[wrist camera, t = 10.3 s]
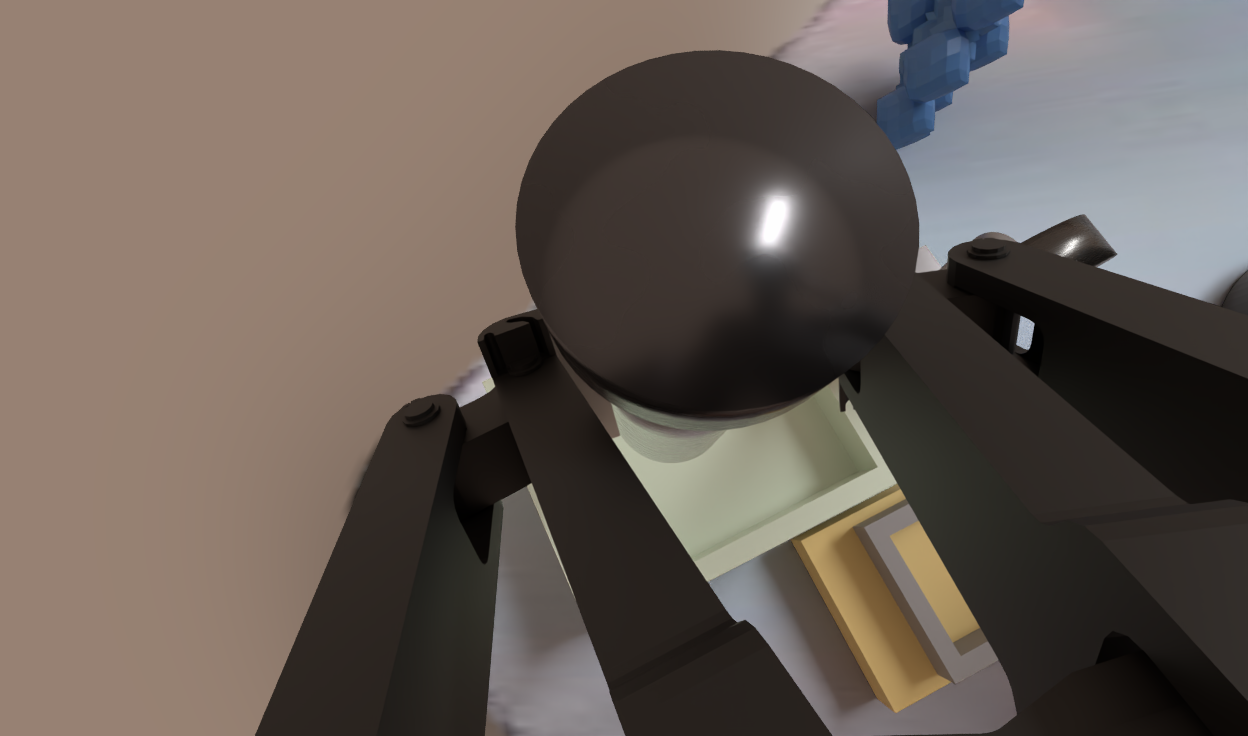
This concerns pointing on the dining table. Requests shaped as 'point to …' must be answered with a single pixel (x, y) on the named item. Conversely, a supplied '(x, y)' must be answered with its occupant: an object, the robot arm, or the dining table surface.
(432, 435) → the robot arm
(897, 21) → the grapes
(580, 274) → the pin
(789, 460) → the tray
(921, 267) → the post
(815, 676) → the dining table surface
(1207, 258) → the dining table surface
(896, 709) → the block
